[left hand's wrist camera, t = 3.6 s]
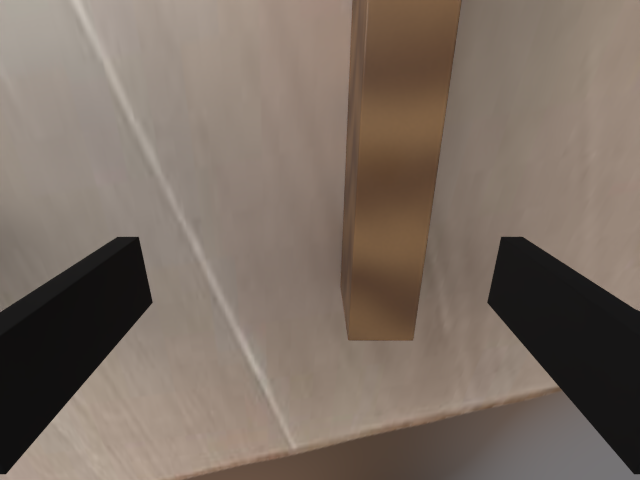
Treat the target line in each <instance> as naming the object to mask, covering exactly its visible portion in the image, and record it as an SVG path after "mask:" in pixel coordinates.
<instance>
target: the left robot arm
mask: <svg viewBox="0 0 640 480" xmlns="http://www.w3.org/2000/svg"><path fill="white" fill-rule="evenodd" d="M152 303H153V302H152V298H151V293H150V288H149V283H148V279H147V274H146V269H145V264H144V260H143V255H142V250H141V246H140V241H139V237H117V238H115V239H114V240H112V241H110V242H109V243H107V244H106V245H104V246H103V247H101V248H100V249H98V250H96V251H95V252H93V253H92V254H90V255H89V256H87V257H86V258H84V259H82V260H81V261H79V262H78V263H76V264H75V265H73V266H72V267H70V268H68V269H67V270H65V271H64V272H62V273H61V274H59V275H58V276H56V277H54V278H53V279H51V280H50V281H48V282H47V283H45V284H44V285H42V286H40V287H39V288H37V289H36V290H34V291H33V292H31V293H30V294H28V295H26V296H25V297H23V298H22V299H20V300H19V301H17V302H16V303H14V304H12V305H11V306H9V307H8V308H6V309H5V310H3V311H2V312H0V474H6V473H7V472H8V471H9V470H10V469H11V468H12V466H13V465H14V464H15V463H16V462H17V461H18V459H19V458H20V457H21V456H22V455H23V454H24V452H25V451H26V450H27V449H28V448H29V447H30V445H31V444H32V443H33V442H34V441H35V440H36V438H37V437H38V436H39V435H40V434H41V432H42V431H43V430H44V429H45V428H46V427H47V425H48V424H49V423H50V422H51V421H52V420H53V418H54V417H55V416H56V415H57V414H58V413H59V411H60V410H61V409H62V408H63V407H64V406H65V404H66V403H67V402H68V401H69V400H70V399H71V397H72V396H73V395H74V394H75V393H76V392H77V390H78V389H79V388H80V387H81V386H82V385H83V383H84V382H85V381H86V380H87V379H88V378H89V376H90V375H91V374H92V373H93V372H94V371H95V369H96V368H97V367H98V366H99V365H100V364H101V362H102V361H103V360H104V359H105V358H106V356H107V355H108V354H109V353H110V352H111V351H112V349H113V348H114V347H115V346H116V345H117V344H118V342H119V341H120V340H121V339H122V338H123V337H124V335H125V334H126V333H127V332H128V331H129V330H130V328H131V327H132V326H133V325H134V324H135V323H136V321H137V320H138V319H139V318H140V317H141V316H142V314H143V313H144V312H145V311H146V310H147V309H148V307H149V306H150V305H151V304H152ZM487 303H488V304H489V305H490V306H491V307H492V309H493V310H494V311H495V312H496V313H497V314H498V316H499V317H500V318H501V319H502V320H503V321H504V323H505V324H506V325H507V326H508V327H509V328H510V330H511V331H512V332H513V333H514V334H515V335H516V337H517V338H518V339H519V340H520V341H521V342H522V344H523V345H524V346H525V347H526V348H527V349H528V351H529V352H530V353H531V354H532V355H533V356H534V358H535V359H536V360H537V361H538V362H539V364H540V365H541V366H542V367H543V368H544V369H545V371H546V372H547V373H548V374H549V375H550V376H551V378H552V379H553V380H554V381H555V382H556V383H557V385H558V386H559V387H560V388H561V389H562V390H563V392H564V393H565V394H566V395H567V396H568V397H569V399H570V400H571V401H572V402H573V403H574V404H575V405H576V407H577V408H578V409H579V410H580V411H581V413H582V414H583V415H584V416H585V417H586V418H587V420H588V421H589V422H590V423H591V424H592V425H593V427H594V428H595V429H596V430H597V431H598V432H599V434H600V435H601V436H602V437H603V438H604V440H605V441H606V442H607V443H608V444H609V445H610V446H611V448H612V449H613V450H614V451H615V452H616V454H617V455H618V456H619V457H620V458H621V459H622V461H623V462H624V463H625V464H626V465H627V466H628V468H629V469H630V470H631V471H632V472H633V473H634V474H640V311H638V310H636V309H634V308H632V307H631V306H629V305H628V304H626V303H624V302H623V301H621V300H620V299H618V298H617V297H615V296H614V295H612V294H610V293H609V292H607V291H606V290H604V289H603V288H601V287H600V286H598V285H596V284H595V283H593V282H592V281H590V280H589V279H587V278H586V277H584V276H582V275H581V274H579V273H578V272H576V271H575V270H573V269H572V268H570V267H568V266H567V265H565V264H564V263H562V262H561V261H559V260H558V259H556V258H554V257H553V256H551V255H550V254H548V253H547V252H545V251H544V250H542V249H540V248H539V247H537V246H536V245H534V244H533V243H531V242H530V241H528V240H526V239H525V238H523V237H501V241H500V246H499V250H498V255H497V260H496V264H495V269H494V274H493V279H492V283H491V288H490V293H489V298H488V302H487Z"/></svg>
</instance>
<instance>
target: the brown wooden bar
mask: <svg viewBox="0 0 640 480" xmlns="http://www.w3.org/2000/svg"><path fill="white" fill-rule="evenodd" d="M461 1H462V0H353V3H352V27H351V50H350V74H349V98H348V121H347V145H346V169H345V193H344V216H343V240H342V264H341V294H342V301H343V307H344V314H345V321H346V328H347V335H348V340H413V338H414V330H415V323H416V316H417V309H418V302H419V295H420V288H421V281H422V274H423V267H424V260H425V253H426V246H427V239H428V232H429V225H430V218H431V211H432V204H433V197H434V190H435V183H436V176H437V169H438V162H439V155H440V148H441V141H442V134H443V127H444V120H445V113H446V106H447V99H448V92H449V85H450V78H451V71H452V64H453V57H454V50H455V43H456V36H457V29H458V22H459V15H460V8H461Z"/></svg>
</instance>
